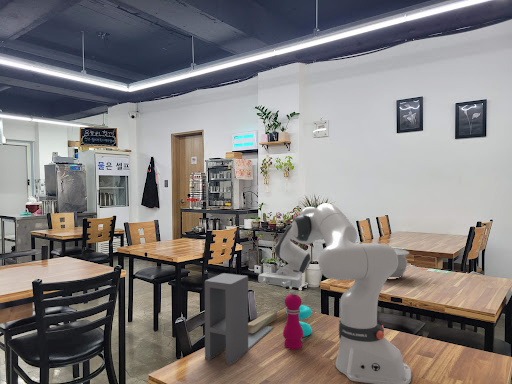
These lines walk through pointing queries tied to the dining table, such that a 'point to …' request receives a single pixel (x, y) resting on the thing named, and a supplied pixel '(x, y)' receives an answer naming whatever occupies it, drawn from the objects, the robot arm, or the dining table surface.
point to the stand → (226, 316)
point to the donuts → (304, 314)
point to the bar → (261, 321)
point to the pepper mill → (293, 322)
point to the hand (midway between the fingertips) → (273, 283)
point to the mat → (257, 335)
